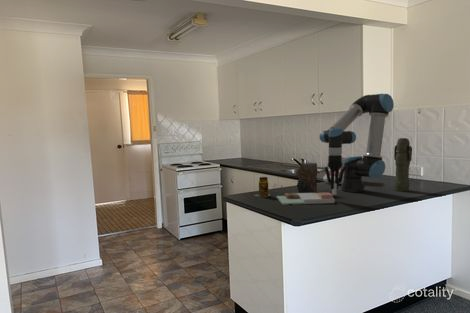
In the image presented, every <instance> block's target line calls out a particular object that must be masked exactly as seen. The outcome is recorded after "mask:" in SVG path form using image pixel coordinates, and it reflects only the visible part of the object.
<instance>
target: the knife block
mask: <svg viewBox="0 0 470 313" xmlns="http://www.w3.org/2000/svg"><path fill="white" fill-rule="evenodd" d="M297 176H298V178H299V179H298V180H297V184H296V187H297V191H298V193H317V190H318V187H317V186H318V182H317V181H318V180H317V176H318V165H317V162H309V161H308V162H299V168H298V170H297Z"/></svg>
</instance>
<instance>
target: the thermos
mask: <svg viewBox="0 0 470 313" xmlns="http://www.w3.org/2000/svg"><path fill="white" fill-rule="evenodd" d="M410 143H411V142H410V140H409V139H408V137H406V138H405V137H403V138H402V137H400V138H398V139H397V142H396V145H394V153H393V156H394V161H395V163H394V164H395V179H394V184H393V185H394V191H396V192H409V191H410V189H409V188H410V179H409V177H410V176H409V174H410V172H409V171H410V166H411V161H412V156H413V155H412V154H413V146H411V144H410Z"/></svg>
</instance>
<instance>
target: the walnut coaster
mask: <svg viewBox="0 0 470 313" xmlns="http://www.w3.org/2000/svg"><path fill="white" fill-rule="evenodd" d="M297 193H298V192H285V193H284V196H285V197H286V198H287V199H297V198H299V195H298V194H297Z"/></svg>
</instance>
